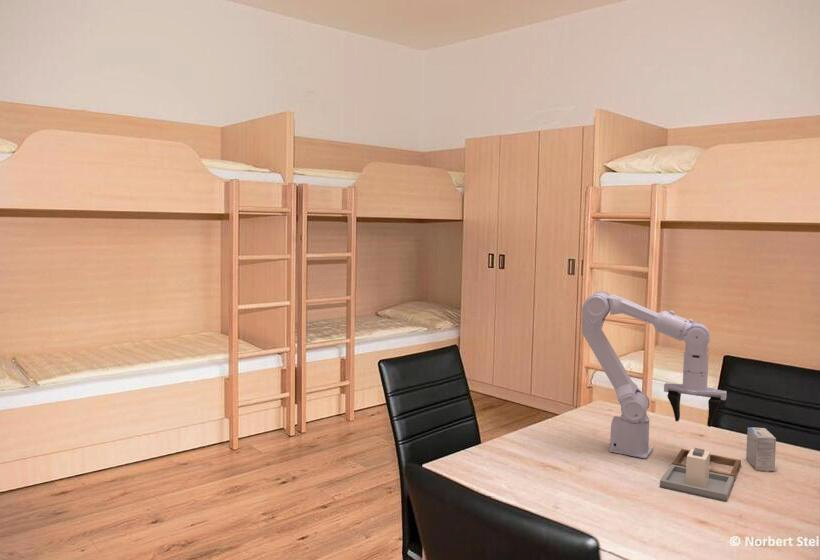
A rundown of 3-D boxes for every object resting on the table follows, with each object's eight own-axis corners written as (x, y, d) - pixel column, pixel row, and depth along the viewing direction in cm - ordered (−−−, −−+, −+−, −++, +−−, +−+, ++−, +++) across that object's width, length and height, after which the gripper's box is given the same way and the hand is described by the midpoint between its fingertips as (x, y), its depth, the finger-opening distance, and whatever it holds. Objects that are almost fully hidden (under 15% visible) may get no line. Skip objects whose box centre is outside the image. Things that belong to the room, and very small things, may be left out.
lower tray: (659, 487, 148) (660, 480, 148) (670, 470, 158) (671, 464, 158) (726, 501, 140) (726, 494, 140) (733, 483, 150) (734, 476, 150)
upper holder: (671, 469, 159) (672, 463, 159) (681, 454, 169) (681, 448, 169) (734, 481, 151) (734, 475, 151) (740, 465, 161) (741, 459, 161)
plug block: (685, 485, 148) (686, 452, 147) (690, 476, 153) (691, 445, 152) (704, 489, 146) (705, 456, 145) (708, 480, 151) (710, 448, 150)
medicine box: (775, 472, 157) (777, 438, 156) (755, 470, 158) (757, 436, 157) (764, 460, 165) (765, 427, 164) (745, 459, 166) (747, 426, 165)
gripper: (661, 370, 163) (660, 422, 164) (724, 377, 155) (722, 432, 156) (668, 365, 169) (666, 415, 170) (728, 372, 161) (726, 424, 162)
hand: (693, 422), depth 164 cm, fingers open, 7 cm apart
